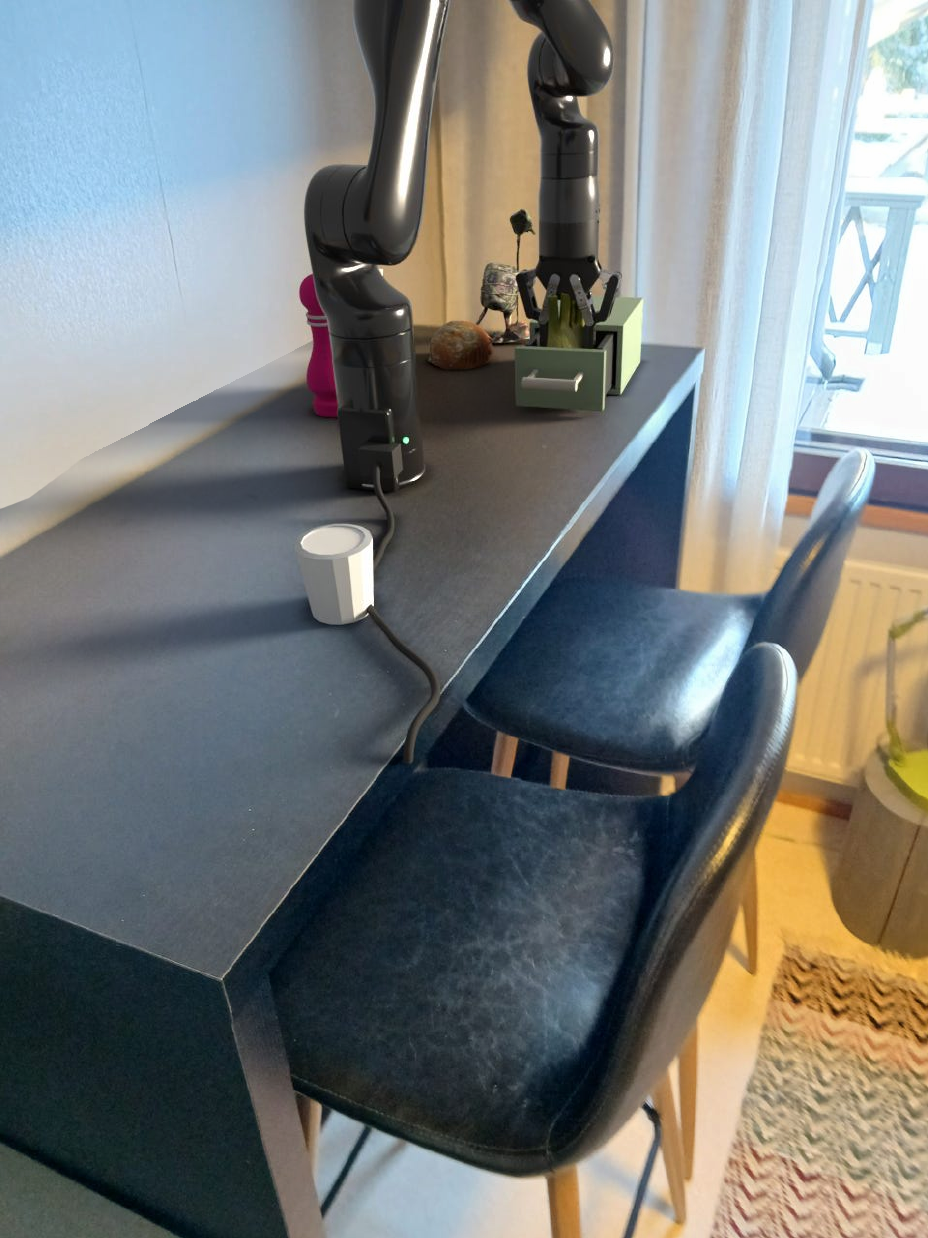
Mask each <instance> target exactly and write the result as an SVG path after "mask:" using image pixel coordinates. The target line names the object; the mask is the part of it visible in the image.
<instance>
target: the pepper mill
mask: <svg viewBox="0 0 928 1238" xmlns="http://www.w3.org/2000/svg"><path fill="white" fill-rule="evenodd" d="M298 289H299V290H298V296H299V300H300V304H301V305H302V306H303V307H304V308H305V309H306V310H307V311H306V312H305V317H306V324H307V325H309V326H310V329H311V330H310V331H311V334H312V351H311V355H310V359H309V361H308V365H307V369H306V385H307V387H308V388H307V389H309V390H310V391H311V393H313V394H314V395H315V396H314V397H313V400H312V403H313V404H312V405H313V409H314V410H313V411H314V413H315V414H316V415H317V416H320V417H324V418H338V415H337V410H338V402H337V394H336V386H335V378H334V370H333V362H332V353H331V345H330V337H329V330H328V323H327V319H326V316H325V314H324V312H323V311H322V309H321V307H320V304H319V302H318V299H317V295H316V290H315V284H314V278H313V273H311V274H308V275H307V276H305V278H304V279H302V281H301V282H300V285H299V288H298Z"/></svg>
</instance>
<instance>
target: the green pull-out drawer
mask: <svg viewBox="0 0 928 1238" xmlns="http://www.w3.org/2000/svg"><path fill="white" fill-rule="evenodd" d="M617 332H618V331H596V344H595V346H594V348H593V349H575V348H553V347H541V346H540V330H539V331H538V332H537V333H536V334H535V335H534V336H533V337H532V338H531V339H528V341H527V342H526V343H525V344H524V345H516V346H515V347H514V387H515V406H516V407H527V408H541V409H542V408H544V409H557V410H558V409H559V410H574V411H589V412H604V410H605V405H606V396H607V395H608V394H607V393H608V391H609V389H610V388H611V386H612V385H613V383H614V381H615V380H616V357H617Z"/></svg>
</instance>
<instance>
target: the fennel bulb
mask: <svg viewBox="0 0 928 1238" xmlns="http://www.w3.org/2000/svg"><path fill="white" fill-rule="evenodd" d="M581 300H582V299H581ZM548 312H549V329H548V343H547V347H553V348H575V349H582V341H583V326H584V325H585V323H584V319H583V316H582V313H581V310H580V309H579V307H578V303H577V301H572V300H570V296H569V294H563V293H561V300H560V311H558V297H557V296H556V295H553V296H552V295H549V296H548Z"/></svg>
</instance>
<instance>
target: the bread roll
mask: <svg viewBox="0 0 928 1238" xmlns="http://www.w3.org/2000/svg"><path fill="white" fill-rule="evenodd" d="M493 343H494V342H493V339H492V336H490V335H489V334H488V333H487V332H486V331H485V330H484V328H482V327H481V326H480V325H476V323H474V322H471V321H467V320H450V321H448V322H446V323H444V324H442V325H441V326H440V327H439V328H438V329H437V330H436V331H435V332H434V333H433V336H432V338H431V339H430V347H429V351H430V354H429V358H428V362H429V363H431V364H433V365H434V366H436V367H439V368H440V369H443V370H445V371H446V370H447V371H461V370H470V369H474V368H478V367H482V366H484V365H486V364H488V363H490V362H491V360H492V357H493V354H494V348H493Z"/></svg>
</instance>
